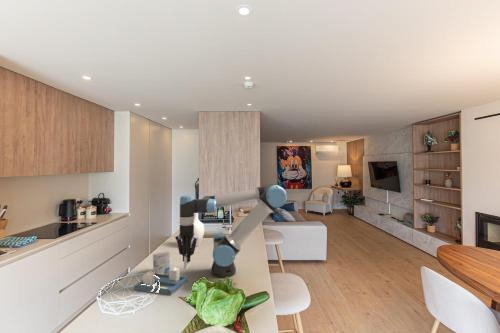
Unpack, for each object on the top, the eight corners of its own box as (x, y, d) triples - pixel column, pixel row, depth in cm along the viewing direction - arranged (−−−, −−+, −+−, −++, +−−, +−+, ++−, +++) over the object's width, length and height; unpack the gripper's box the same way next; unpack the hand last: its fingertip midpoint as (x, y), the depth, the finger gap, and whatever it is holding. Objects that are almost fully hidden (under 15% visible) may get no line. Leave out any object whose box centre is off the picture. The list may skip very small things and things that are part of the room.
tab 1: (154, 283, 132) (154, 270, 132) (149, 286, 128) (149, 273, 128) (148, 282, 133) (148, 270, 133) (143, 286, 129) (143, 273, 129)
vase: (207, 246, 200) (207, 212, 200) (190, 249, 192) (190, 213, 192) (200, 242, 212) (200, 209, 212) (183, 245, 204) (183, 211, 204)
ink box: (165, 268, 155) (165, 250, 155) (170, 270, 152) (170, 251, 152) (152, 273, 149) (152, 253, 149) (157, 275, 145) (157, 255, 146)
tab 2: (179, 279, 137) (179, 266, 137) (175, 282, 133) (175, 269, 133) (173, 278, 138) (173, 266, 138) (168, 281, 134) (168, 269, 134)
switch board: (187, 281, 138) (187, 276, 138) (171, 295, 122) (171, 289, 122) (154, 276, 144) (154, 272, 144) (134, 289, 128) (134, 284, 128)
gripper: (200, 223, 135) (200, 266, 135) (180, 221, 139) (179, 263, 139) (194, 226, 128) (193, 271, 128) (172, 224, 132) (171, 269, 131)
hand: (186, 267), depth 133 cm, fingers closed
